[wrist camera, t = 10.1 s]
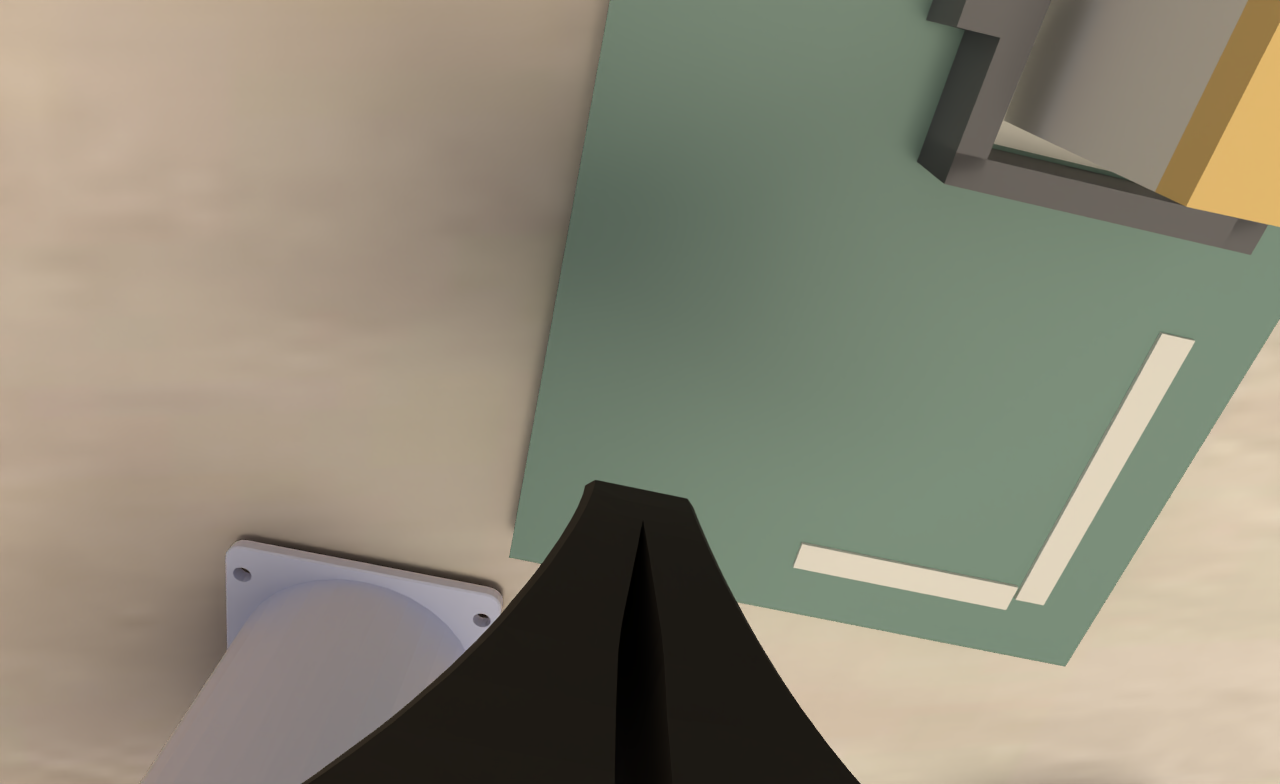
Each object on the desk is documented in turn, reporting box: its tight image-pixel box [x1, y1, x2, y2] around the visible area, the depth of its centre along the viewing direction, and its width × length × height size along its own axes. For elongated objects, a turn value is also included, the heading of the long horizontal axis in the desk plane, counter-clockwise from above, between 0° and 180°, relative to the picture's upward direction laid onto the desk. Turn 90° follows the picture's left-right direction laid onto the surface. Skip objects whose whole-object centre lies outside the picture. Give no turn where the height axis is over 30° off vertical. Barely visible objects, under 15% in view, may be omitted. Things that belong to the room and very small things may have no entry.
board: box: [509, 0, 1280, 666], centre depth 18 cm, size 22×16×3 cm
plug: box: [1004, 0, 1280, 227], centre depth 13 cm, size 5×4×7 cm
